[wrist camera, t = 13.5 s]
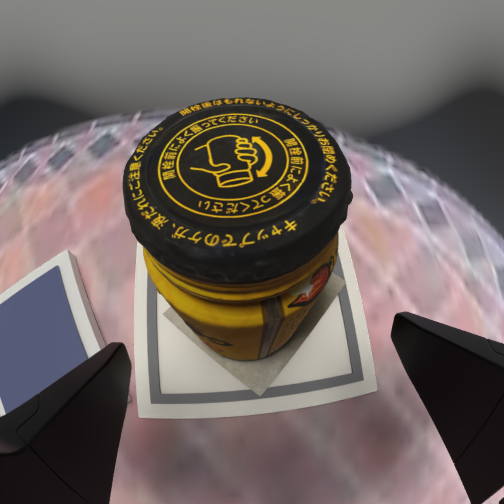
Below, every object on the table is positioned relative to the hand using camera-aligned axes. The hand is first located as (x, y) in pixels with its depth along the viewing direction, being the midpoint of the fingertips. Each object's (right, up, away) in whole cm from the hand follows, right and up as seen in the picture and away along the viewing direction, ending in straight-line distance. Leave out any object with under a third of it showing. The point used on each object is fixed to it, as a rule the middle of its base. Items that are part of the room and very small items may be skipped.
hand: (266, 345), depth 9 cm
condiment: (0, 0, +8) cm, 8 cm away
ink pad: (-15, -4, +6) cm, 17 cm away
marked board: (-1, 0, +9) cm, 9 cm away
